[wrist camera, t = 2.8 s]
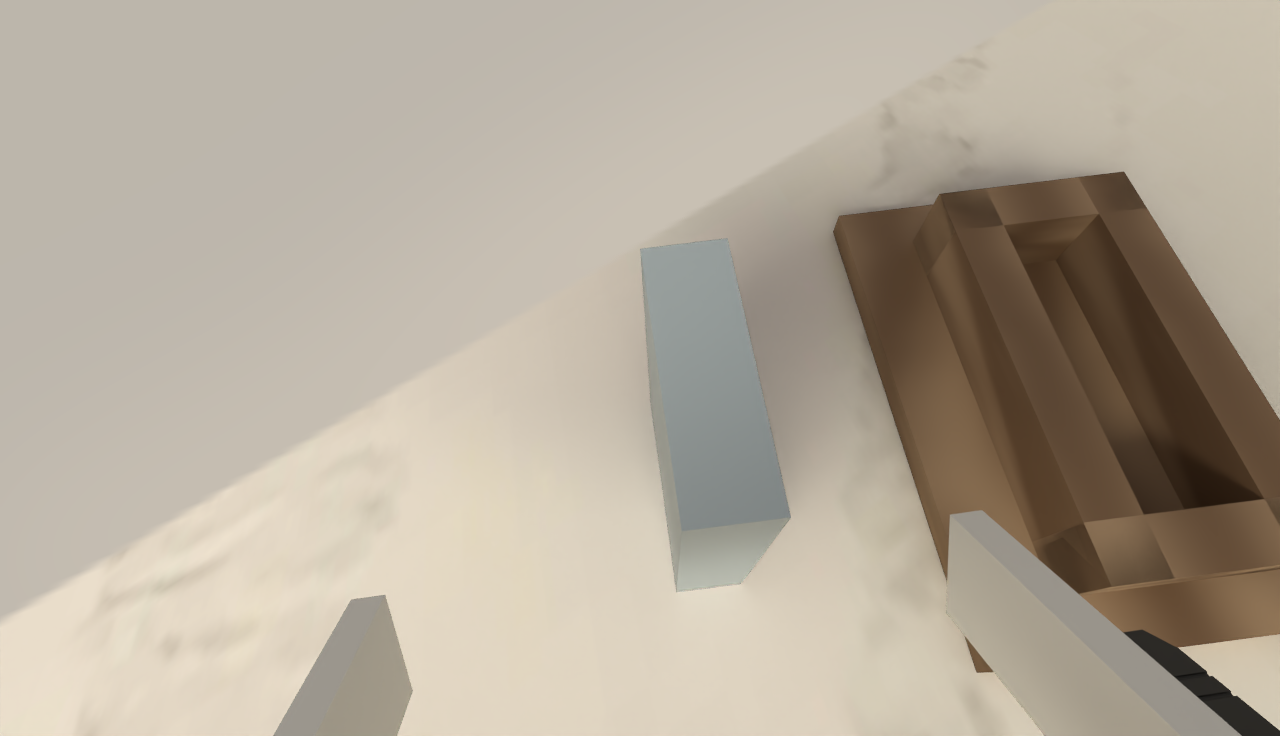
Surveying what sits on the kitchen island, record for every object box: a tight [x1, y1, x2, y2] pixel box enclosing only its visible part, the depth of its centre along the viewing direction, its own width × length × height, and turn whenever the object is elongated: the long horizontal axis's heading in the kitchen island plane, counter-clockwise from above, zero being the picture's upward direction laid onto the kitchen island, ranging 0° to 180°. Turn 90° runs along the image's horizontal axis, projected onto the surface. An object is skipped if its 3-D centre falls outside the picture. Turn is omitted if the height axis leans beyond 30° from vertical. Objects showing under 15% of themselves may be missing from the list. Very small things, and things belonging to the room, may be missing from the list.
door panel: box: [640, 238, 791, 592], centre depth 21 cm, size 2×8×11 cm, turn 7°
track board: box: [833, 172, 1280, 673], centre depth 25 cm, size 14×20×4 cm
